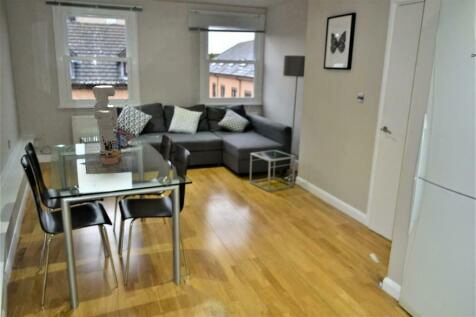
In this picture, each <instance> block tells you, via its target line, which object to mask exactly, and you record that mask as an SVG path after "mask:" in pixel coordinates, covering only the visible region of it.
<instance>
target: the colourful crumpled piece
mask: <svg viewBox="0 0 476 317" xmlns="http://www.w3.org/2000/svg"><path fill="white" fill-rule="evenodd" d="M117 132H119V133H120V145H121V148H125V147H127V146H128V145H129V141H131V140H132V139H133V137H134V136H135V135H134V134H127V133H126V132H125V131H123V130H122V129H118V131H117Z"/></svg>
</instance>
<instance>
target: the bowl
mask: <svg viewBox="0 0 476 317" xmlns="http://www.w3.org/2000/svg"><path fill="white" fill-rule="evenodd" d="M100 158H101V162H102V163H101V164H102V165H114V164H117V163H118V162H119V158H118V156H115V155H109V156H106V155H103V156H101V157H100Z"/></svg>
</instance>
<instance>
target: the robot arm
mask: <svg viewBox="0 0 476 317" xmlns="http://www.w3.org/2000/svg"><path fill="white" fill-rule="evenodd" d="M92 94H93V96H94V98H95V100H96V102H95V104H94V105H93V111H92V112H93V118H94V119H95V120H97V121H96V125H97V129H98V130H97V131H98V136H99V137H98V138H99V147H100V149H99V152H98V154H99V155H106V153H101V152H100V150H102V149H105V150H109V147H108V141H109V144H111V149H112V144H113V142H114V141H115V139H114V132H115V131H114V129H117V128H118V126H119V122H118V120H119V119H118V112H117V107H116V106H115V105H109V102H110V100H109V97H115V95H116V89H115V86H112V85H96V86H94V87H92ZM110 141H111V142H110Z"/></svg>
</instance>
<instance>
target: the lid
mask: <svg viewBox="0 0 476 317" xmlns="http://www.w3.org/2000/svg"><path fill="white" fill-rule="evenodd" d="M108 147H109V150H105V149H102V150H100V149H99V152H101V153H113V152H117V151H118V149H116V148H112V149H111V144H108Z"/></svg>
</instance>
